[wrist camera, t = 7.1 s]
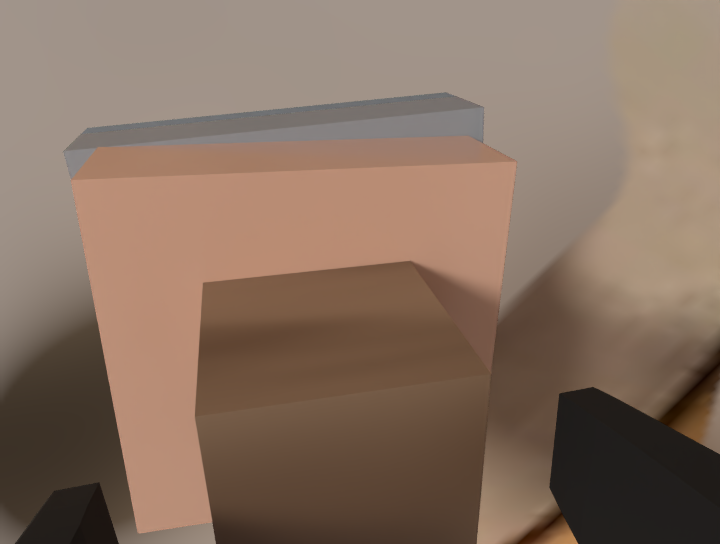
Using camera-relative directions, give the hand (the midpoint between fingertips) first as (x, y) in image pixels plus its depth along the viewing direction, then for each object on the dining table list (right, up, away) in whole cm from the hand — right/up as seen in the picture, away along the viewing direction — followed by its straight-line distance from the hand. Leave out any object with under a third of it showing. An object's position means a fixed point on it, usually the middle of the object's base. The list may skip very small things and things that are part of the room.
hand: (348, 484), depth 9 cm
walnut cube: (-1, +2, +3) cm, 3 cm away
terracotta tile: (-1, +3, +5) cm, 6 cm away
